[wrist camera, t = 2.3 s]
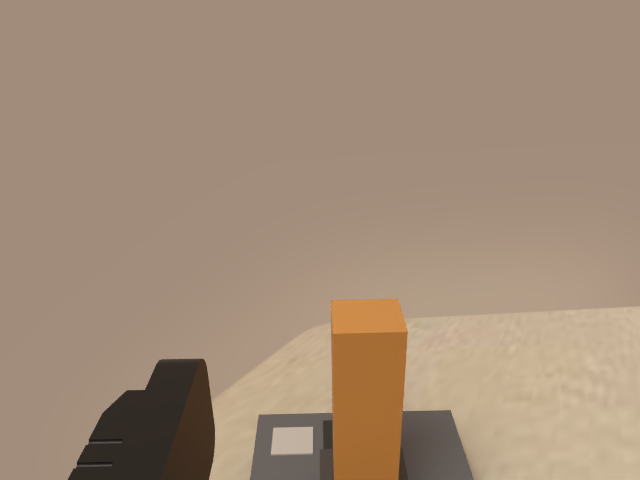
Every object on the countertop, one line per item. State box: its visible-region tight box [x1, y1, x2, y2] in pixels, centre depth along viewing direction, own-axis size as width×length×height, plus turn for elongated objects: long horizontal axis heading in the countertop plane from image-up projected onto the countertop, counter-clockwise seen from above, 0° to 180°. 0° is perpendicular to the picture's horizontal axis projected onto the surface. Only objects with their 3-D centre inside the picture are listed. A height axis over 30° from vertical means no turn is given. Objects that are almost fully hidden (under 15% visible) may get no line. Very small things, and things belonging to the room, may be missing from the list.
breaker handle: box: [320, 299, 408, 480], centre depth 24 cm, size 4×4×11 cm
